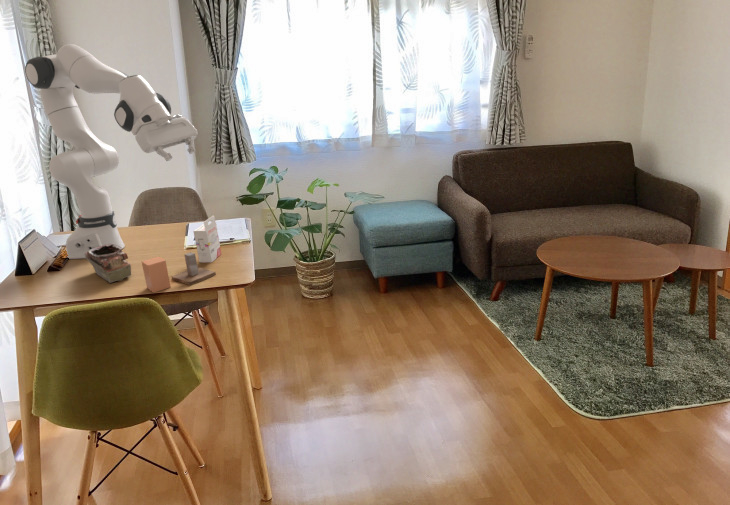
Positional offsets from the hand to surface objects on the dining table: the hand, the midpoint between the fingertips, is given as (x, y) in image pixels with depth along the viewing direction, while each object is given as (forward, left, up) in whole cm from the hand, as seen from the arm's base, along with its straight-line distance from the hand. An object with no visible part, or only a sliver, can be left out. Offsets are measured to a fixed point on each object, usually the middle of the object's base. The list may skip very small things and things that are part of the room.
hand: (181, 156), depth 196 cm
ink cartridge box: (+1, +12, -39) cm, 41 cm away
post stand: (-2, -5, -39) cm, 39 cm away
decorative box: (-33, +5, -39) cm, 51 cm away
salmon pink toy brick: (-12, -11, -39) cm, 42 cm away
